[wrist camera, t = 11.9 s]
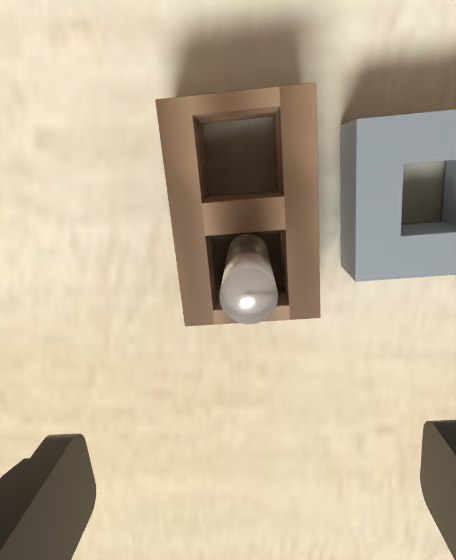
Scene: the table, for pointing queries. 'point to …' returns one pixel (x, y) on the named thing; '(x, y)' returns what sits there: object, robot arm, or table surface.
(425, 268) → the socket block
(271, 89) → the walnut rack
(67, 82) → the table surface
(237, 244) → the steel rod
